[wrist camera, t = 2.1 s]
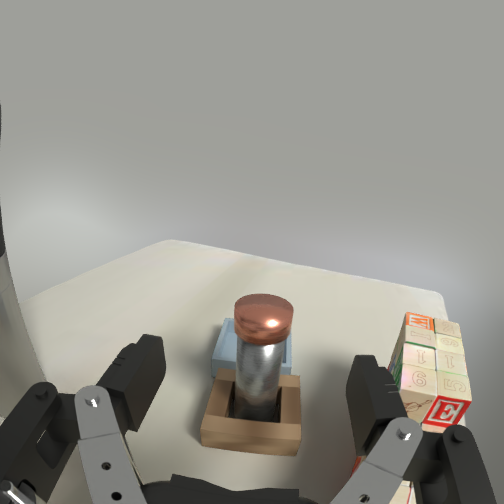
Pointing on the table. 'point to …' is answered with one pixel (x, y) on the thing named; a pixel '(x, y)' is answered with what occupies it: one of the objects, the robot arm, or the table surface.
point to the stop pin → (259, 353)
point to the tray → (228, 348)
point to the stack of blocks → (428, 380)
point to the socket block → (252, 432)
